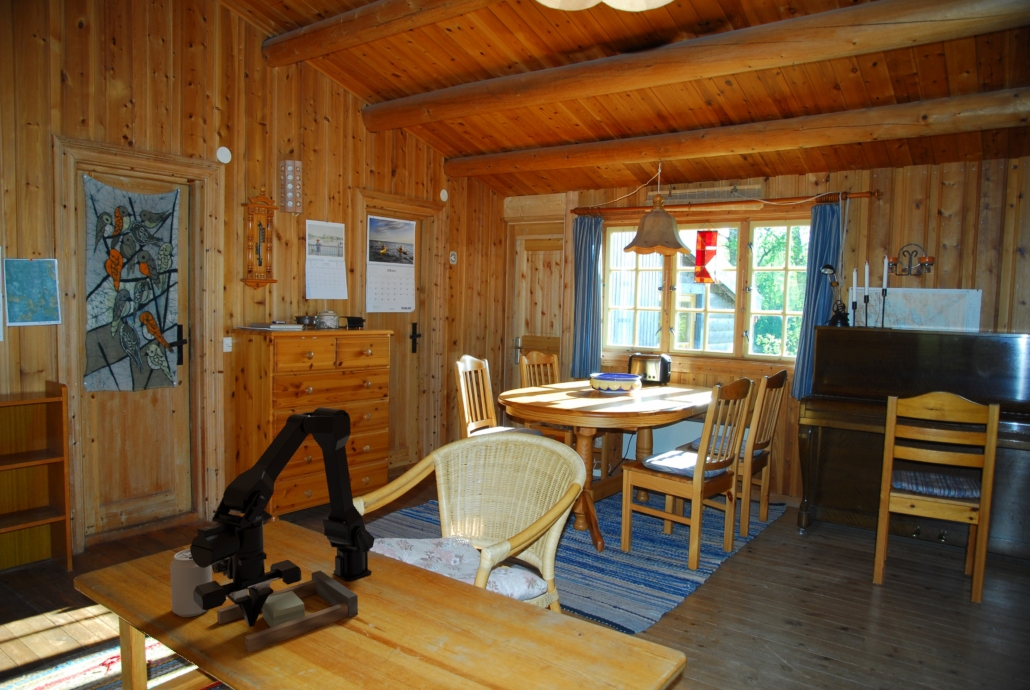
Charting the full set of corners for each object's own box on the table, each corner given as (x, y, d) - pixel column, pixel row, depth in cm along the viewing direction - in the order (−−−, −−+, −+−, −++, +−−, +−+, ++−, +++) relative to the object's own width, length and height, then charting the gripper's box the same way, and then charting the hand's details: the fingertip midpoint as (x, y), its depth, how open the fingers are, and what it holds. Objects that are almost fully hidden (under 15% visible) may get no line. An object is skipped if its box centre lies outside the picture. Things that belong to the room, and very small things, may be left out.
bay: (320, 588, 151) (320, 570, 151) (357, 614, 139) (357, 595, 139) (217, 621, 136) (216, 601, 136) (249, 653, 124) (248, 632, 124)
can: (197, 620, 136) (194, 562, 135) (163, 616, 138) (161, 558, 137) (220, 603, 143) (218, 547, 142) (188, 600, 145) (186, 544, 144)
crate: (292, 609, 142) (292, 590, 141) (304, 623, 136) (304, 603, 136) (262, 617, 138) (261, 598, 138) (273, 632, 132) (273, 612, 132)
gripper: (277, 524, 143) (279, 596, 145) (181, 548, 131) (185, 627, 132) (301, 539, 135) (303, 615, 137) (202, 566, 123) (205, 650, 124)
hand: (250, 626), depth 133 cm, fingers closed
